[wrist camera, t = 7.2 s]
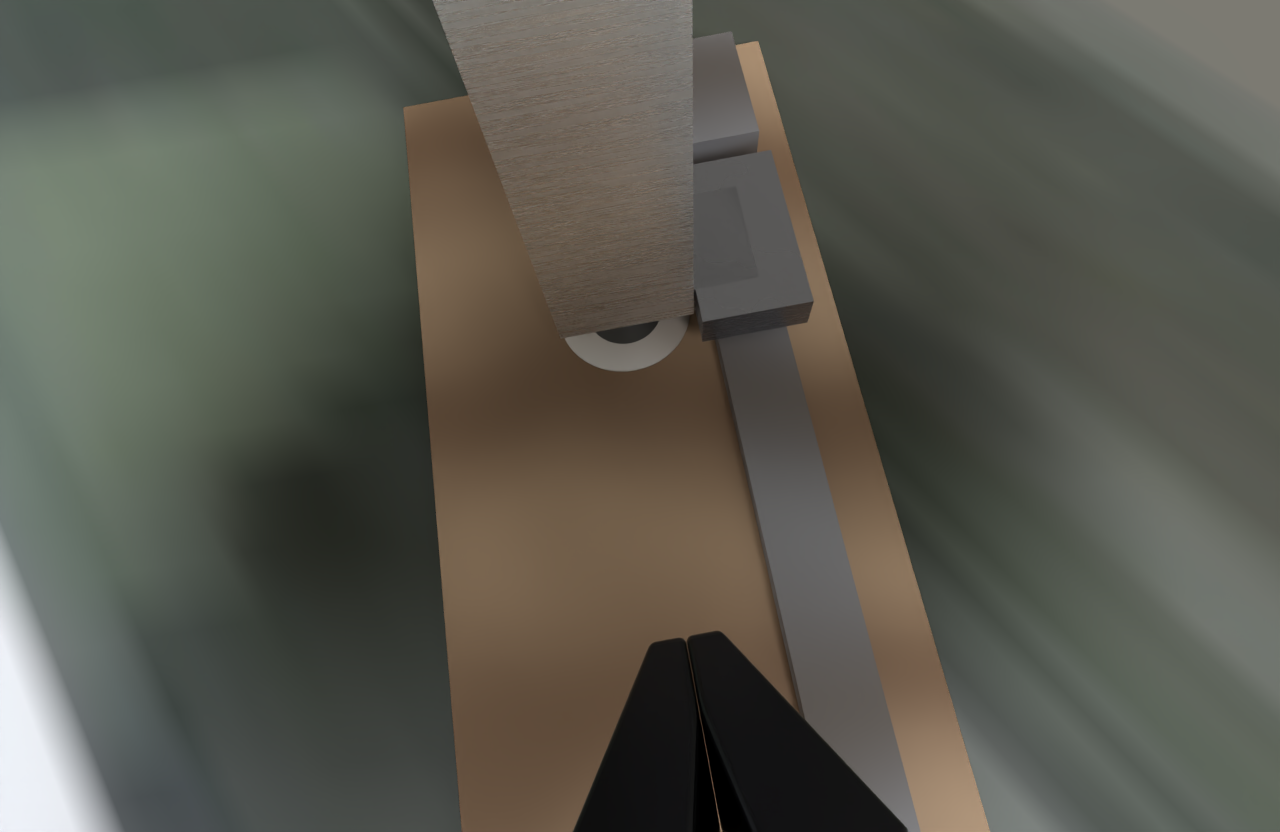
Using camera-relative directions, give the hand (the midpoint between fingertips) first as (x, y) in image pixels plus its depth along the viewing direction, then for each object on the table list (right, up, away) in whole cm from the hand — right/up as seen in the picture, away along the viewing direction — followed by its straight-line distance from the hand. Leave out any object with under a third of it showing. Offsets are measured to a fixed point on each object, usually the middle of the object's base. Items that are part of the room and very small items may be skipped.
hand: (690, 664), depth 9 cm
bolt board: (0, +3, +9) cm, 10 cm away
